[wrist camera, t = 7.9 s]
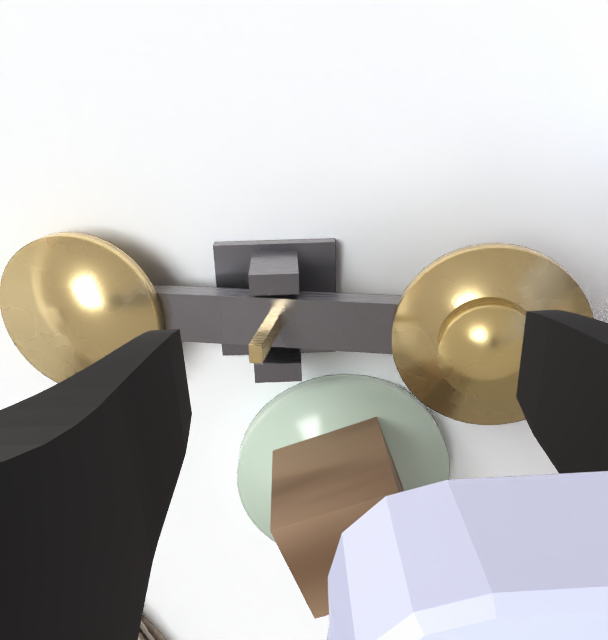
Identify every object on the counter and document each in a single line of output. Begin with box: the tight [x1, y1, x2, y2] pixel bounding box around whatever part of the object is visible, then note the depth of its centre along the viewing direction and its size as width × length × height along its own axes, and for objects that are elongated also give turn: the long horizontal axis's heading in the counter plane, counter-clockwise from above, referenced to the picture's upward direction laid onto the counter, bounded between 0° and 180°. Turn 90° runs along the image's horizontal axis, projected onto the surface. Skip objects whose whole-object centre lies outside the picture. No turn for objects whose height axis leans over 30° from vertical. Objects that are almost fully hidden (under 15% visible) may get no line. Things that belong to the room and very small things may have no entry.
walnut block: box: [270, 417, 404, 618], centre depth 22 cm, size 4×4×4 cm
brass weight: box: [437, 297, 526, 401], centre depth 17 cm, size 3×3×1 cm
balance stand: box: [213, 238, 336, 383], centre depth 20 cm, size 4×4×3 cm
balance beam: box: [0, 232, 593, 425], centre depth 19 cm, size 20×6×3 cm, turn 91°
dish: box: [237, 374, 450, 542], centre depth 24 cm, size 9×9×1 cm
